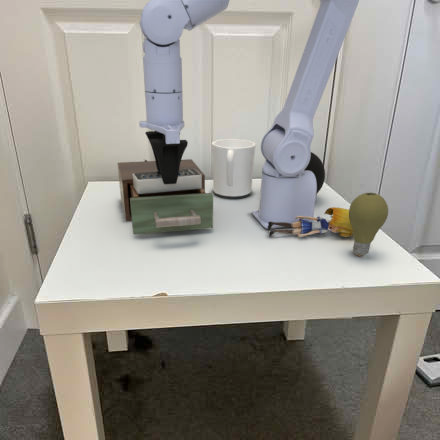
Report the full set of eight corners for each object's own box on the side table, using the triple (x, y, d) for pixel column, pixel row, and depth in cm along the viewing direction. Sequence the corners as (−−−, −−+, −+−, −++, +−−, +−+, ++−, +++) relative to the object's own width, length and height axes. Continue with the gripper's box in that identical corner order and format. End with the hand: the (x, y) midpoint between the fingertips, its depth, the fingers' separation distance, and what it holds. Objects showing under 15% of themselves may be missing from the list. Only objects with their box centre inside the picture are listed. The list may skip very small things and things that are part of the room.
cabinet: (204, 215, 85) (205, 175, 81) (125, 221, 81) (122, 179, 78) (192, 195, 94) (191, 159, 91) (121, 200, 91) (117, 162, 87)
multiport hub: (133, 186, 77) (132, 172, 76) (194, 181, 80) (194, 168, 79) (138, 194, 74) (137, 180, 72) (202, 188, 77) (202, 174, 76)
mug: (214, 185, 101) (215, 137, 96) (254, 188, 100) (257, 139, 95) (206, 201, 92) (206, 149, 86) (250, 204, 91) (253, 151, 85)
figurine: (269, 245, 76) (357, 242, 77) (271, 219, 73) (364, 216, 73) (266, 229, 80) (351, 225, 80) (268, 203, 76) (356, 200, 76)
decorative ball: (325, 208, 89) (332, 157, 84) (274, 207, 89) (278, 155, 84) (317, 193, 98) (323, 145, 93) (271, 191, 98) (274, 144, 93)
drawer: (220, 238, 73) (220, 204, 70) (136, 246, 70) (133, 210, 67) (199, 207, 86) (199, 177, 83) (127, 212, 83) (125, 181, 80)
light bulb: (358, 266, 68) (371, 201, 63) (334, 251, 72) (344, 190, 67) (386, 259, 70) (400, 196, 65) (360, 245, 74) (372, 185, 69)
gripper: (132, 86, 75) (138, 168, 81) (143, 97, 62) (148, 193, 69) (175, 85, 76) (177, 166, 83) (193, 97, 64) (194, 190, 71)
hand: (167, 179), depth 76 cm, fingers closed on multiport hub, 4 cm apart
